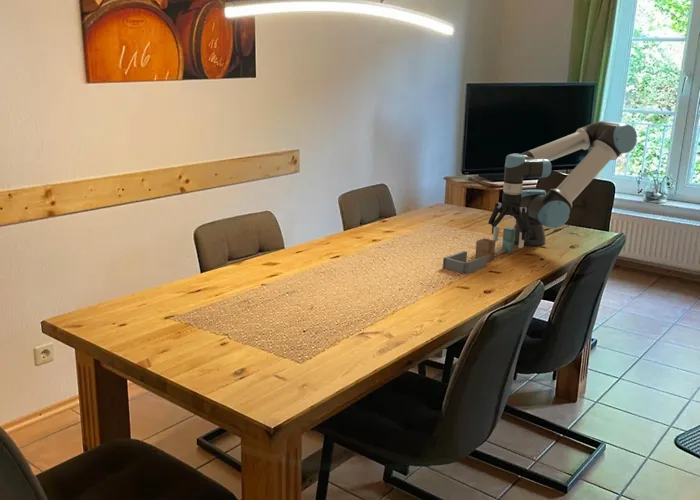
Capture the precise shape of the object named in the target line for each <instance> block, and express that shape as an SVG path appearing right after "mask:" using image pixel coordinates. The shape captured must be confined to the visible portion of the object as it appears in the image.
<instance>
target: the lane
mask: <svg viewBox="0 0 700 500" xmlns="http://www.w3.org/2000/svg"><path fill="white" fill-rule="evenodd" d="M467 256H468V251H466V250H463V251H461V252H456V253H455V254H452V255H448V256H444V257H443V259H442V260H443V261H442V268H443V269H445V270H448V271H453V272H457V273H460V274H465V275H467V274H469V273H472V272H474V271H478V270H480V269H483V268H486V267H487V263H488V262H487V256H482V257H480V258H477V259H475V258H474V259H472V260H469V261H467V258H468V257H467Z"/></svg>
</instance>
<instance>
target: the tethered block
mask: <svg viewBox="0 0 700 500" xmlns="http://www.w3.org/2000/svg"><path fill="white" fill-rule="evenodd" d="M515 230H516V229H515V228H514V227H510V226H507V227H504V228H503V234H502V244H501V245H502V246H501V248H502V249H499V250H496V242H497V241H495V240H493V239H491V238H490V239H489V238H486V237H485V238H482V239H478V240H476V242H475V243H476V244H475V256H474V257H475V258H474V259H477V258H480V257H482V256H487V263H489V262H492V261H493V262H494V261H495V256H498V255H499V254H502V253H506V254H511V253H513V252H515V243H514V241H515Z"/></svg>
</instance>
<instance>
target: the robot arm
mask: <svg viewBox="0 0 700 500" xmlns="http://www.w3.org/2000/svg"><path fill="white" fill-rule="evenodd" d="M637 137H638V134H637V131H636V129H635V128H634V126H633V125H631V124H627V123H626V122H618V121H617V122H616V121H610V120H600V121H596V122H593V123H590V124H587V125H585V126H582V127H579V128H577V129H576V131H575V132H573V133H571V134H568V135H566V136H563V137H560V138H558V139H556V140H553V141H551V142H550V141H549V142H548V143H545V144H543V145H540V146H537V147H535V148H533V149H529V150H527V151H524V152H522V153H517V152H516V153H510V154H508V155H506V157H505V163H504V172H503V173H504V175H503V176H504V177H503V190H502V191H503V193H502V199H501V201H502V203H501V202H496V203H495V204H494V209H493V211H492V213H491V216H490V217H489V220H488V223H487V224H488V225H490V226H491V234H493V235H492V240H495V241H496V242H498V240H499V231H500V230H499V229H500V227H499V225H498V224H499V223H500V222H501V221H502V220H503V218H504V217H505V216H511V217H513V218H514V219H515V223H514V226H513V228H515V229H516V230H515V241H514V244H516V245H518V249H522V248H524V246H542V245H543V246H544V245H545V244H546V240H547V239H546V238H547V237H546V233H545V228H544V227H546V228H552V229H554V228H555V229H557V228H559V227H562V226H563V225H565V224H566V223H567V221H568V220H569V218H570V213H571V210H572V208H573V201H575V199H577V197H578V196H579V195H580V194H581V193H582V192H583V191H584V189H585V188H586V187H588V186H589V184H590V183H591V182H592V181H593V180H594V179H595V178H596V176H597V175H598V174H599V173H600V172H601V171H602V170H603V169H604V168H605V166H607V165H608V164H609V163H610V161H616V160H617V159H618V158H619V157H620V156H621V155H622V154H627V153H630V152H631V151H633V149H634V148H635V147H636V144H637V141H638V139H637ZM589 149H591V150H590V151H589V152H588V153H587V154H586V155H585V157H583V159H582V160H580V162H579V163H578V164H577V165H576V166H575V167H574V168H573V169H572V170H571V171H570V172H569V174H568V175H567V176H566V177H565V178H564V179H563V180H562V182H561V183H560V184H559V185H558V186H557V187H556V188H550V189H549V190H548V191H546V190H545V189H523V183H524V179H530V178H531V179H532V178H534V179H535V178H536V179H538V178H540V179H542V178H547V177H549V176H550V175H551V172H552V167H553V166H552V163H551V161H555V160H557V159H559V158H562V157H564V156H567V155H570V154H572V153H575V152H577V151H580V150H584V151H587V150H589ZM501 209H502V210H501ZM500 210H501V212H500ZM499 212H500V213H499ZM498 214H499V215H498Z"/></svg>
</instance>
